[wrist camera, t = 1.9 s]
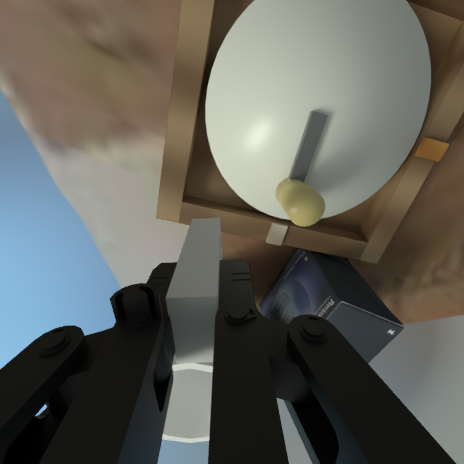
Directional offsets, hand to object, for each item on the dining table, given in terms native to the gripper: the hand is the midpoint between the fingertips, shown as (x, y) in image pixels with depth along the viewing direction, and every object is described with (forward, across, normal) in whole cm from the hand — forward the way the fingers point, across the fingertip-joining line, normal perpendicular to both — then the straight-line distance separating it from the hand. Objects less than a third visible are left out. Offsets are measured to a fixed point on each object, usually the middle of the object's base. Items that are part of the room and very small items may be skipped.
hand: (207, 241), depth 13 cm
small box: (+12, +10, -12) cm, 19 cm away
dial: (+10, +8, +6) cm, 14 cm away
